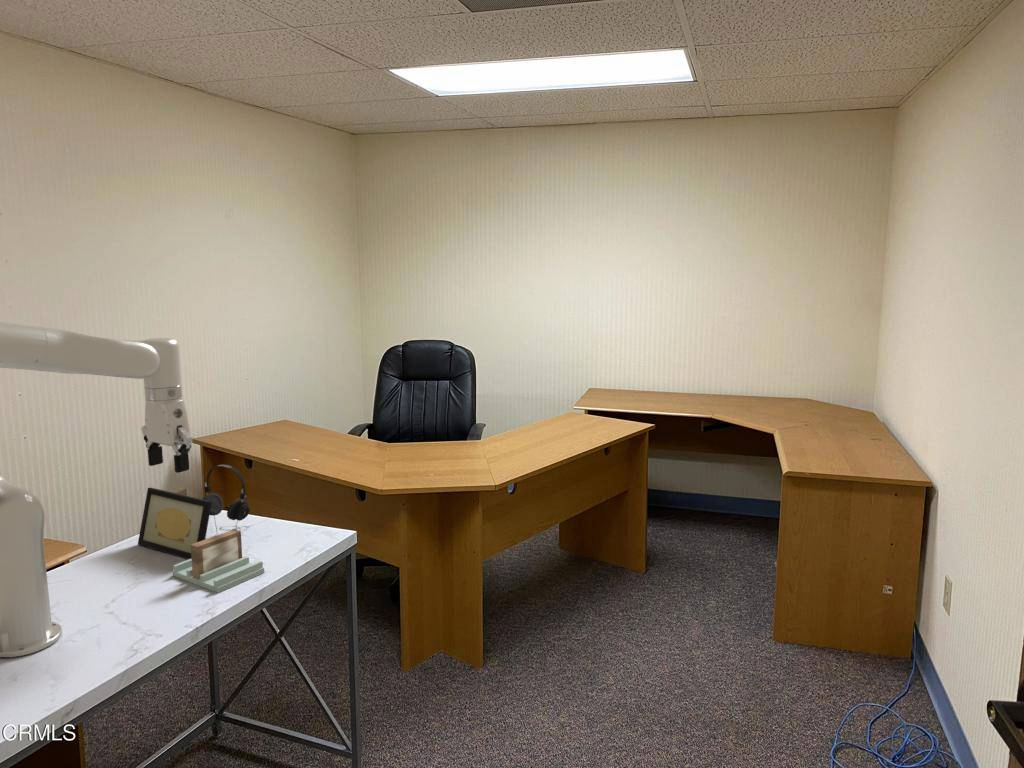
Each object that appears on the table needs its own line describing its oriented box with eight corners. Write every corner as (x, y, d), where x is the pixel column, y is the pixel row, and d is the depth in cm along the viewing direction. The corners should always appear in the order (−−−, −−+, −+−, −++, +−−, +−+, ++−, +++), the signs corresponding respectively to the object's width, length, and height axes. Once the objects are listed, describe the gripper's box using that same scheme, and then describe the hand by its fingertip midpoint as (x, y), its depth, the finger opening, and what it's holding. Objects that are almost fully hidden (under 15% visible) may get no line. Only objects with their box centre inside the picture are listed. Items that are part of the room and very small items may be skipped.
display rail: (218, 592, 168) (217, 581, 168) (172, 575, 177) (172, 564, 176) (264, 572, 179) (263, 562, 178) (219, 557, 188) (218, 547, 187)
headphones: (269, 531, 206) (265, 462, 202) (238, 545, 196) (234, 472, 192) (229, 522, 212) (225, 455, 208) (197, 535, 202) (192, 465, 198)
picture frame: (137, 545, 195) (138, 489, 194) (166, 537, 203) (168, 484, 202) (197, 562, 184) (199, 503, 183) (226, 554, 192) (228, 497, 191)
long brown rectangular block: (199, 579, 172) (197, 547, 171) (192, 576, 173) (190, 544, 172) (243, 562, 182) (241, 531, 181) (236, 559, 183) (234, 529, 182)
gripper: (202, 395, 163) (207, 470, 166) (156, 387, 172) (161, 458, 175) (171, 400, 157) (177, 478, 159) (124, 392, 165) (130, 465, 168)
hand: (168, 467), depth 167 cm, fingers open, 9 cm apart
